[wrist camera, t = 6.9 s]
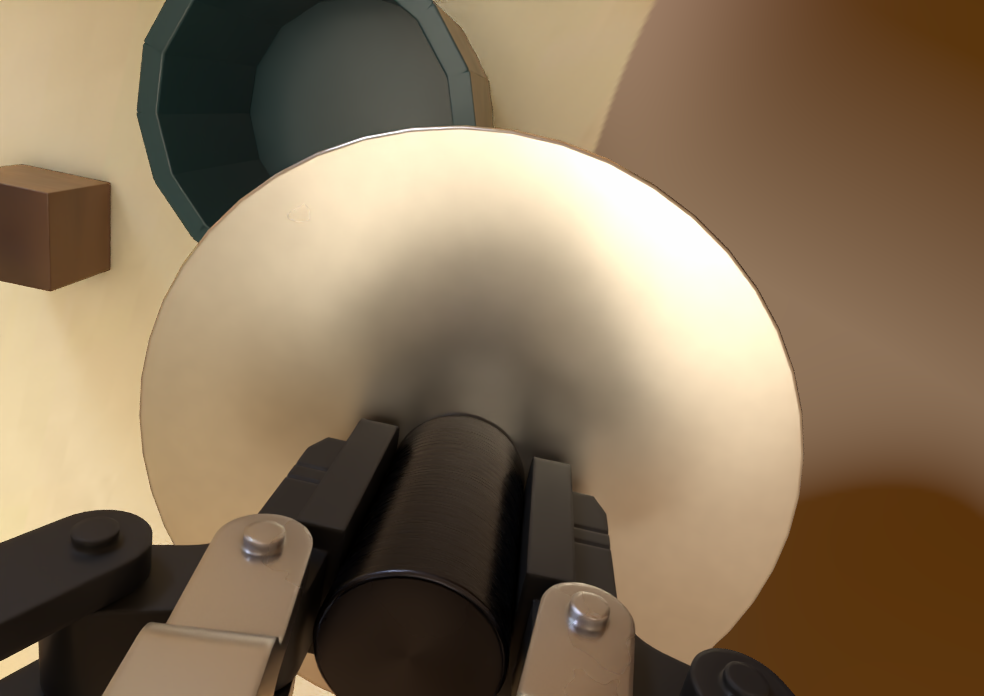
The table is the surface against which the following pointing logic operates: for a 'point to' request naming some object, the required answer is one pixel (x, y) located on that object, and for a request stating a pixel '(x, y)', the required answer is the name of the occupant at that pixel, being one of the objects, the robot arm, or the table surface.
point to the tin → (291, 88)
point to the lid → (478, 391)
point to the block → (52, 227)
